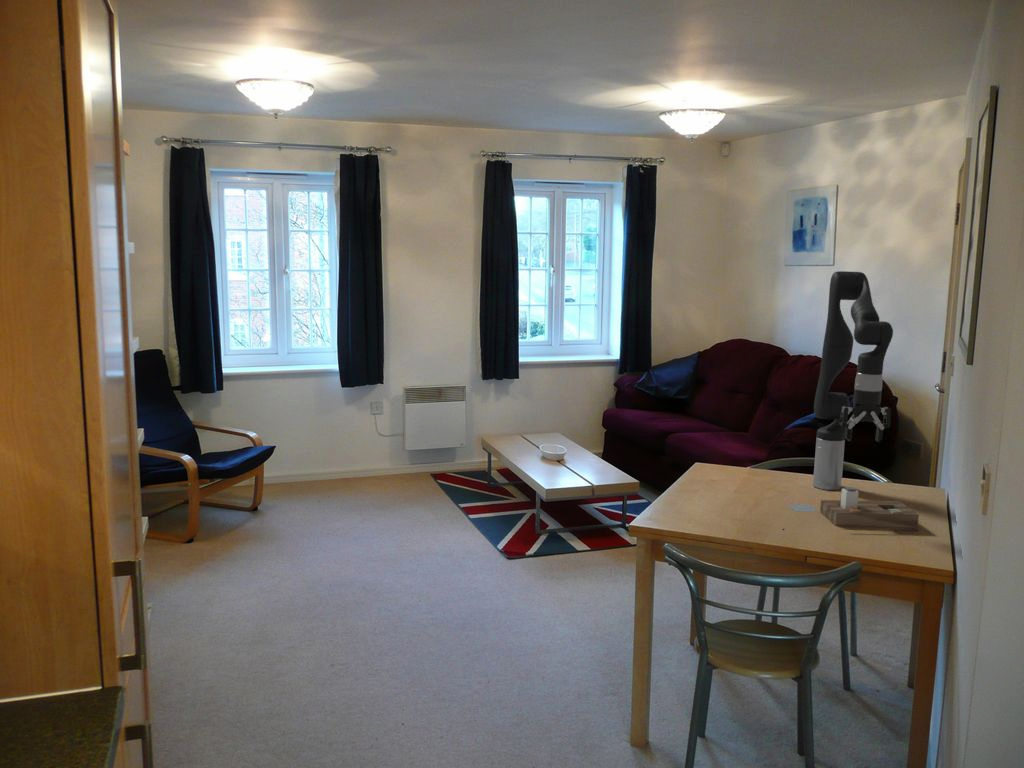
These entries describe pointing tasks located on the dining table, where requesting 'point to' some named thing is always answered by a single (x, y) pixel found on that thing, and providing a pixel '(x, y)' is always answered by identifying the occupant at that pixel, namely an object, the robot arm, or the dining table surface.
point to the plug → (849, 498)
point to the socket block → (871, 514)
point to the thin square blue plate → (803, 508)
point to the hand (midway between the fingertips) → (863, 440)
